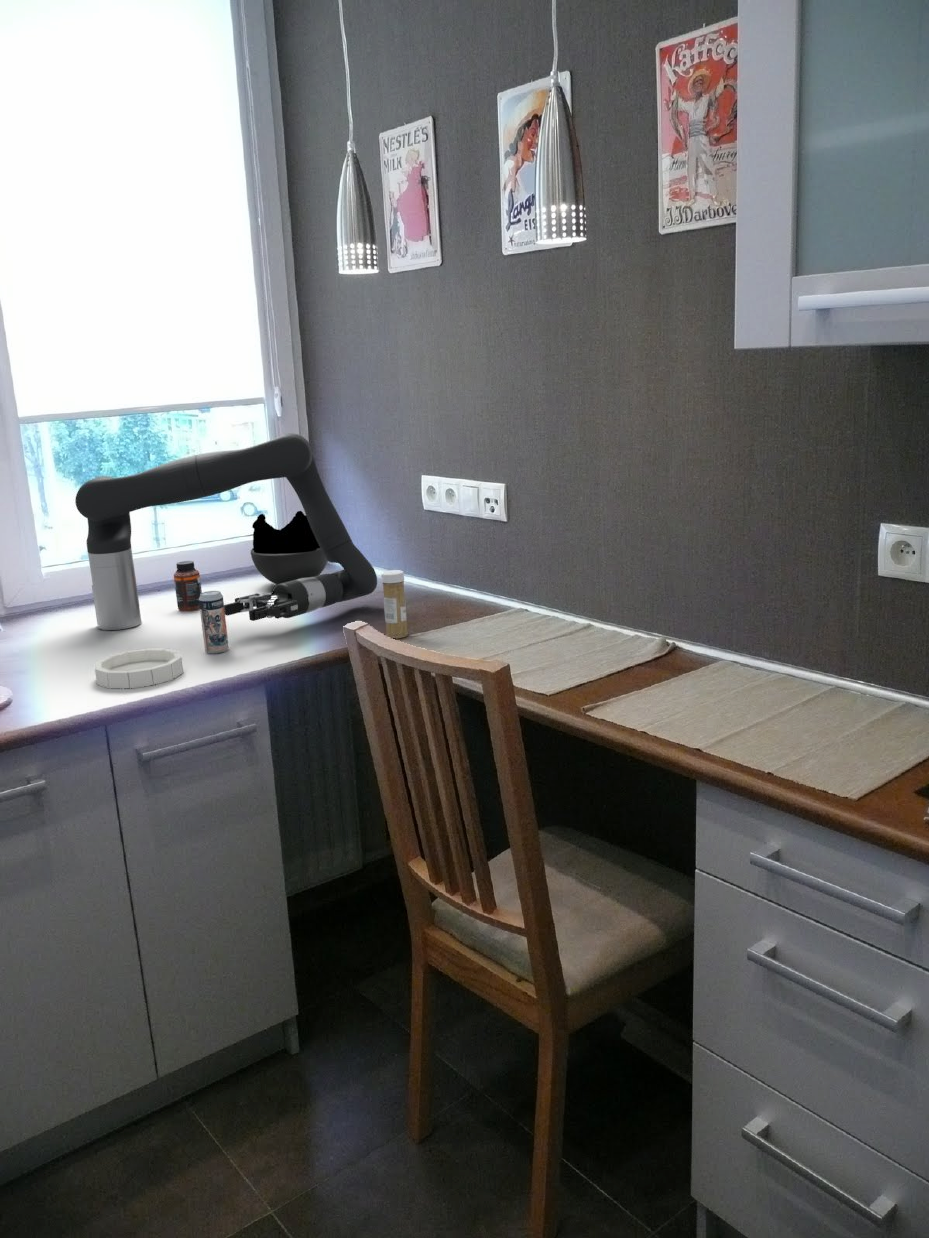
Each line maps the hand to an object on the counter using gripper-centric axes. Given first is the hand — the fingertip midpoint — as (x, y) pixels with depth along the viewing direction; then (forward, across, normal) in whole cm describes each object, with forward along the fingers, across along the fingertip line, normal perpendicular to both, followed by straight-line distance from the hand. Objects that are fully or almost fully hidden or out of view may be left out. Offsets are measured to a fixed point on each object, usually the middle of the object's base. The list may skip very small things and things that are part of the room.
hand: (237, 613), depth 210 cm
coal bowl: (-42, -34, +7) cm, 54 cm away
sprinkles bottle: (-21, +24, +7) cm, 33 cm away
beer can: (+6, 0, +7) cm, 9 cm away
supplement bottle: (-13, -37, +7) cm, 40 cm away
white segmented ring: (+24, +1, +7) cm, 25 cm away
